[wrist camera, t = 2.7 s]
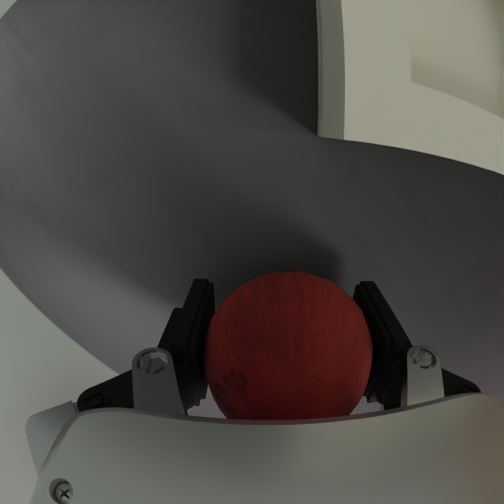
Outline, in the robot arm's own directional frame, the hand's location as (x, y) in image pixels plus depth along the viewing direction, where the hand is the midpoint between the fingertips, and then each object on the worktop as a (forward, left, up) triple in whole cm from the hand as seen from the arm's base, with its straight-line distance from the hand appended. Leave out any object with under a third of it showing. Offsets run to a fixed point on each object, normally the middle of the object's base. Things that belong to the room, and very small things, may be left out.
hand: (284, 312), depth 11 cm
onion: (0, 0, -1) cm, 1 cm away
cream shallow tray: (-8, -14, -1) cm, 16 cm away
